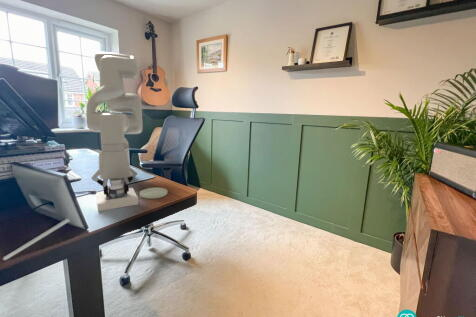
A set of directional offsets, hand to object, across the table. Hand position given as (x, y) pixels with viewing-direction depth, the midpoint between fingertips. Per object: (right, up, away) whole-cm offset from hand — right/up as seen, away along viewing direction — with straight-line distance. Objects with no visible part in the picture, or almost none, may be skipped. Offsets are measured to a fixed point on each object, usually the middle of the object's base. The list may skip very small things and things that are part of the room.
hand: (116, 194), depth 87 cm
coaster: (+11, -1, +10) cm, 14 cm away
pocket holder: (0, -3, +1) cm, 3 cm away
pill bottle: (0, -3, +1) cm, 3 cm away
